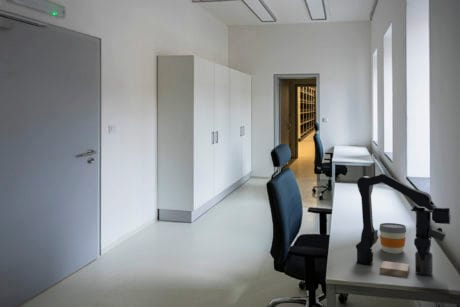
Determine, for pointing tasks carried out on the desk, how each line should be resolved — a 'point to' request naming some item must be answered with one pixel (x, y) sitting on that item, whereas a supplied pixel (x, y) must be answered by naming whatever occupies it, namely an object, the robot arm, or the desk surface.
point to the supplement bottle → (424, 264)
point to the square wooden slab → (394, 268)
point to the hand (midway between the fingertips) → (423, 258)
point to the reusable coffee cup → (392, 237)
